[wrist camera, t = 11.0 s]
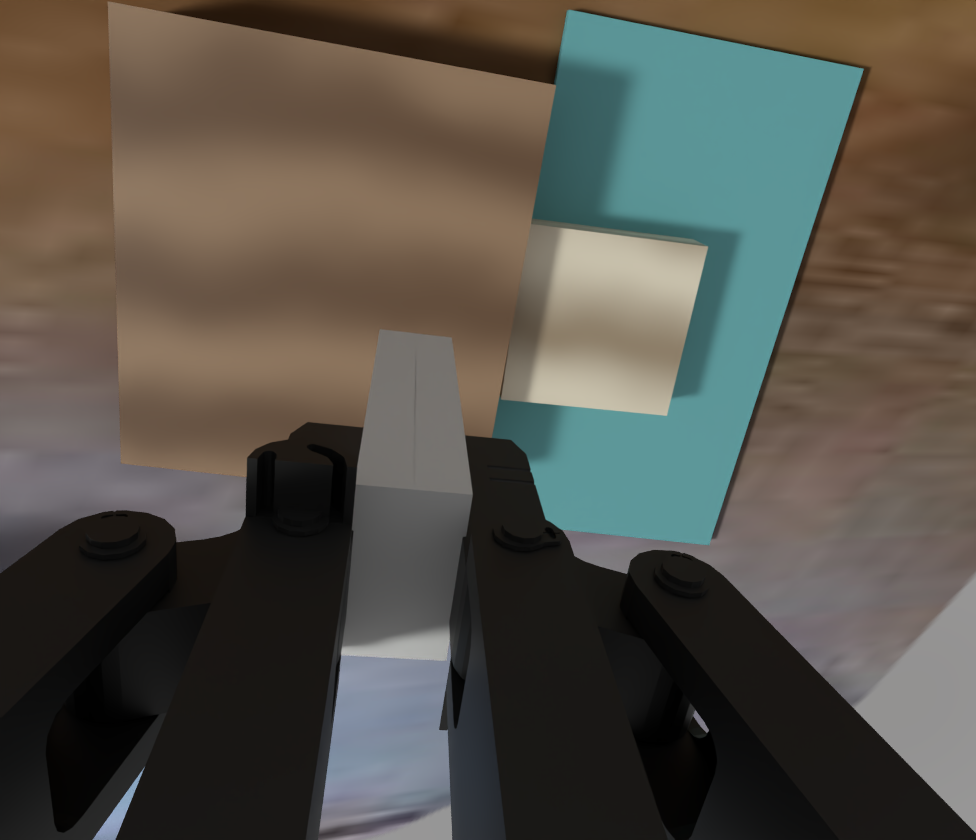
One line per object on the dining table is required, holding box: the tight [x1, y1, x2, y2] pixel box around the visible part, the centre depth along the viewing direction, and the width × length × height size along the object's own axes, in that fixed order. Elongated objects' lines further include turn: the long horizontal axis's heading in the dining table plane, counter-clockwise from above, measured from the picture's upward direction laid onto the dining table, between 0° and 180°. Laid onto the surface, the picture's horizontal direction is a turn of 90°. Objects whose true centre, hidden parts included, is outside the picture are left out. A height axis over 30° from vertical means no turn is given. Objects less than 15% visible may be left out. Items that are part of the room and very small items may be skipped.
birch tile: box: [500, 219, 708, 416], centre depth 34 cm, size 8×8×2 cm
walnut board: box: [108, 2, 556, 477], centre depth 32 cm, size 18×16×4 cm
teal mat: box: [492, 10, 864, 545], centre depth 35 cm, size 24×13×1 cm, turn 171°
